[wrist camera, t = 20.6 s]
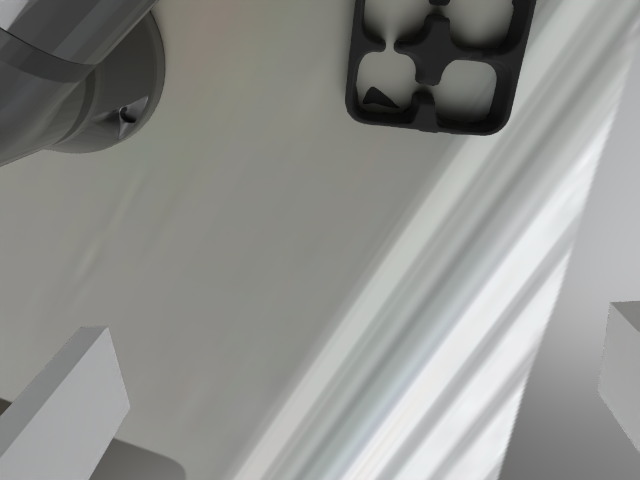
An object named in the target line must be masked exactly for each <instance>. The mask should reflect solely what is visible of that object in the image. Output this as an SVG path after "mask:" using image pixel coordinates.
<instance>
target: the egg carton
mask: <svg viewBox="0 0 640 480" xmlns="http://www.w3.org/2000/svg"><path fill="white" fill-rule="evenodd" d="M449 2H450V0H429V3H430V4H432V5H437V6H438V5H441V6H445V5H447V4H449ZM512 4H513V6H514V11H513V15H512V19H511V22H510V26H509V29H508V33H507V36H506V38H505V40H504V41H503V43H502V44H501V45H500V46H498V47H497V48H495V49H474V48H465V47H459V46H455V45H454V44H453V43H452V41H451V38H450V33H449V29H450V27H449V25H450V21H449V19H448V18H446V17H444V16H438V15H427V16H426V18H425V21H424V26H423V29H422V31H421V32H420V34H419V35H418V36H417V37H415V38H414V39H412V40H408V41H396V42H395V43H394V50H395V51H396V52H397V53H399V54H404V55H407V56H409V57H410V58H411V59H412V60H413V61H414V63H415V66H416V75H415V80H416V79H417V80H416V81H417V82H418V83H421V84H428V85H432V86H434V85H438V84H439V82H440V80H441V76H442V73H443V71H444V69H445V68H446V66H447V65H448V64H449V63H451V62H452V61H454V60H471V61H478V62H484V63H487V64H489V65H491V66H492V67H493V68H494V70H495V72H496V75H497V81H496V87H495V92H494V97H493V101H492V104H491V108H490V111H489V113H488V115H487V117H486V118H485V119H483V120H481V121H478V122H473V123H463V122H458V121H452V120H448V119H444V118H442V117H440V116H439V115H438V114H436V113H435V101H434V97H433V95H432V94H429V93H425V92H415V93H413V95H412V101H411V105H410V106H409V107H408V108H406V109H405V110H404V111H402V112H401V113H377V112H368V111H362V110H361V109H359V108H360V106H359V101H358V92H357V87H356V81H357V74H358V68H359V64H360V62H361V60H362V58H363V57H364V56H365V55H366V54H367V53H370V52H382V51H384V50H385V48H386V43H385V41H384V40H383V39H381V38H375V37H372V36H370V35H369V34H368V33H367V31H366V28H365V24H364V6H365V0H356V1H355V10H354V19H353V29H352V38H351V46H350V53H349V63H348V75H347V86H346V94H345V104H346V108H347V112H348V113H349V115H350V116H351V117H352V118H353V119H354V120H356V121H358V122H360V123H364V124H370V125H380V126H391V127H399V128H408V129H417V130H420V131H424V132H433V133H437V132H444V133H451V134H461V135H480V136H486V135H492V134H494V133H496V132H498V131H500V130H501V129H502V128H503V127H504V126H505V125H506V124H507V122H508V120H509V118H510V114H511V110H512V106H513V101H514V97H515V92H516V88H517V83H518V79H519V74H520V70H521V66H522V61H523V57H524V53H525V49H526V44H527V40H528V36H529V32H530V27H531V23H532V18H533V14H534V9H535V5H536V0H512ZM370 103H376V104H380V105H383V106H387V107H393V108H400V107H398V106H397V105H396V104H395V103H394V102H393V101H392V100H391V99H389V98H388V97H387V96H386V95H384V94H383V93H382V92H381V91H379V90H378V89H377V88H375V87H371V88H370V89H369V90H368V91H367V93H366V95H365V98H364V100H363V104H370ZM363 110H364V109H363Z"/></svg>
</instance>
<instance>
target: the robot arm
mask: <svg viewBox="0 0 640 480" xmlns="http://www.w3.org/2000/svg"><path fill="white" fill-rule="evenodd" d="M158 1H159V0H0V167H1V166H3V165H5V164H8V163H10V162H13V161H15V160H18V159H20V158H23V157H25V156H28V155H30V154H33V153H35V152H38V151H40V150H42V149H46V150H52V151H58V152H65V153H89V152H95V151H100V150H103V149H106V148H109V147H111V146H113V145H115V144H118V143H120V142H122V141H124V140H126V139H127V138H129V137H131V136H132V135H133V134H135V133H136V132H137V131H138V130H140V129H141V128H142V127H143V126H144V125H145V123H146V122H147V121H148V120H149V118H150V117H151V115H152V114H153V112H154V110H155V108H156V106H157V104H158V102H159V99H160V96H161V93H162V89H163V84H164V76H165V60H164V51H163V45H162V41H161V37H160V34H159V31H158V28H157V25H156V23H155V21H154V18H153V16H152V14H151V13H150V9H151V8H152V7H153V6H154V5H155V4H156V3H157V2H158ZM598 393H599V395H600V396H601V397H602V399H603V401H604V402H605V403H606V405H607V406H608V408H609V409H610V411H611V412H612V414H613V415H614V416H615V418H616V420H617V421H618V423H619V424H620V425H621V427H622V428H623V430H624V431H625V433H626V434H627V436H628V437H629V439H630V440H631V442H632V443H633V445H634V446H635V447H636V449H637V450H638V452H639V453H640V301H630V302H611V303H610V307H609V315H608V321H607V328H606V336H605V343H604V349H603V356H602V364H601V370H600V377H599V385H598ZM129 409H130V404H129V400H128V397H127V393H126V390H125V386H124V382H123V379H122V375H121V372H120V368H119V365H118V361H117V357H116V354H115V350H114V347H113V343H112V339H111V336H110V332H109V329H108V326H97V327H81V328H80V329H79V330H78V331H77V332H76V333H75V334H74V335H73V337H72V338H71V339H70V340H69V341H68V342H67V343H66V344H65V345H64V347H63V348H62V349H61V350H60V351H59V352H58V353H57V354H56V355H55V357H54V358H53V359H52V360H51V361H50V362H49V363H48V364H47V365H46V366H45V368H44V369H43V370H42V371H41V372H40V373H39V374H38V375H37V376H36V378H35V379H34V380H33V381H32V382H31V383H30V384H29V385H28V386H27V388H26V389H25V390H24V391H23V392H22V393H21V394H20V395H19V396H18V398H17V399H16V400H15V401H14V402H13V403H12V404H11V406H9V408H8V409H7V410H6V411H5V412H4V413H3V414H2V415H1V417H0V480H89V478H90V476H91V474H92V473H93V471H94V469H95V468H96V466H97V464H98V462H99V461H100V459H101V457H102V455H103V454H104V452H105V450H106V449H107V447H108V445H109V443H110V442H111V440H112V438H113V436H114V435H115V433H116V431H117V430H118V428H119V426H120V424H121V423H122V421H123V419H124V417H125V416H126V414H127V412H128V411H129Z"/></svg>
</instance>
